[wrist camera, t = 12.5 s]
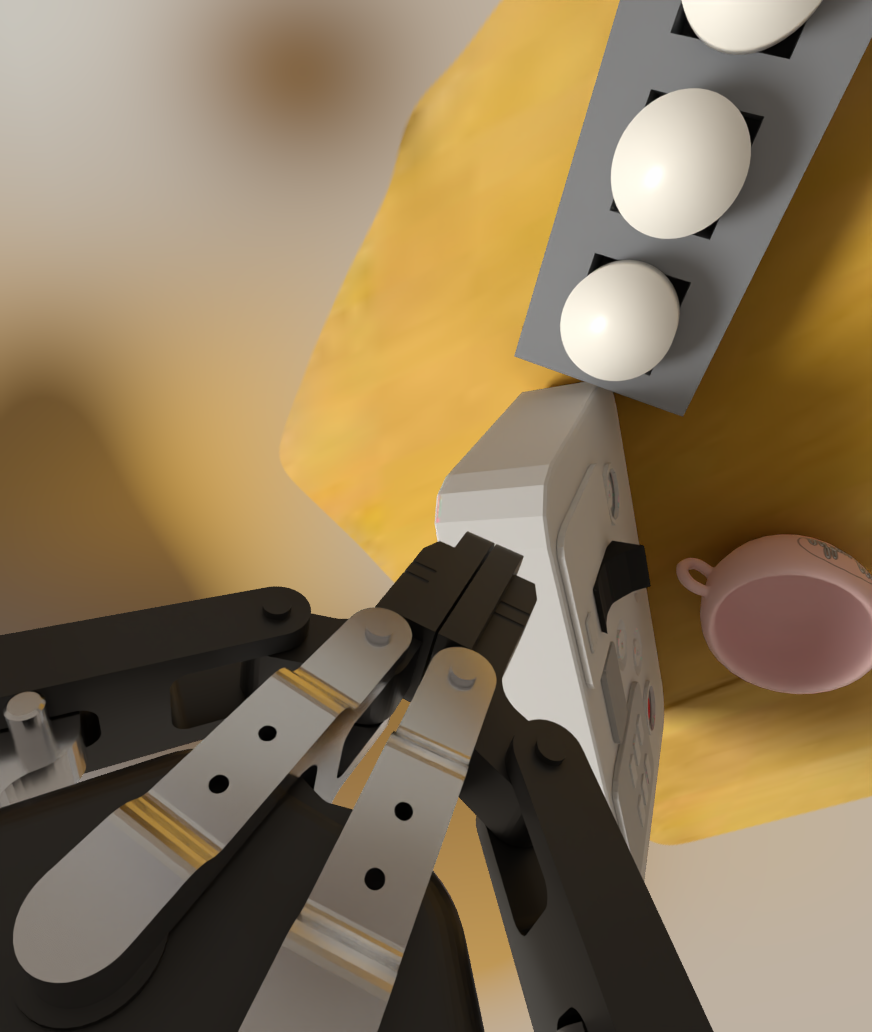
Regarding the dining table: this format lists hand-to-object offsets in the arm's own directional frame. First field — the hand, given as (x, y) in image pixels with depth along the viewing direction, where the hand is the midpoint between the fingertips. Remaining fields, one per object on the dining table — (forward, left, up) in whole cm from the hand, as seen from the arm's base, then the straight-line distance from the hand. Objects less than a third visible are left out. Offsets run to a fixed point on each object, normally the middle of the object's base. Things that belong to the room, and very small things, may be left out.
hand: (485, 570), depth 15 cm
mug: (-15, +13, -28) cm, 34 cm away
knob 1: (0, -1, -26) cm, 26 cm away
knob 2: (+1, -8, -26) cm, 27 cm away
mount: (0, -8, -27) cm, 29 cm away
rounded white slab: (-5, +17, -28) cm, 33 cm away
